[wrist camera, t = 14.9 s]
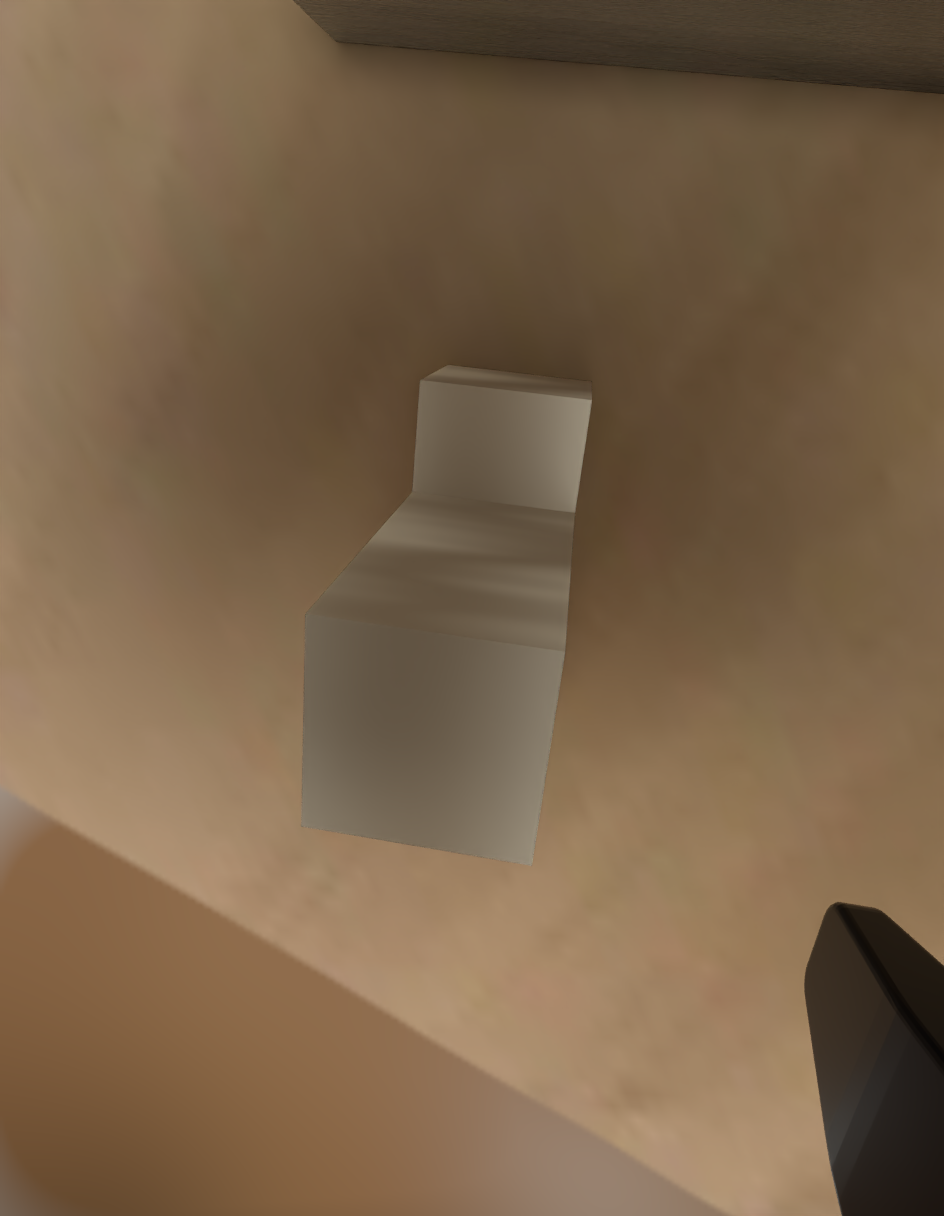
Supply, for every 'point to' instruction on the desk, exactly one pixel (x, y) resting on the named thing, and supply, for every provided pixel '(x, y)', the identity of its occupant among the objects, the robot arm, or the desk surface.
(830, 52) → the slot rail
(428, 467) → the pale step bench
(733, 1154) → the desk surface
